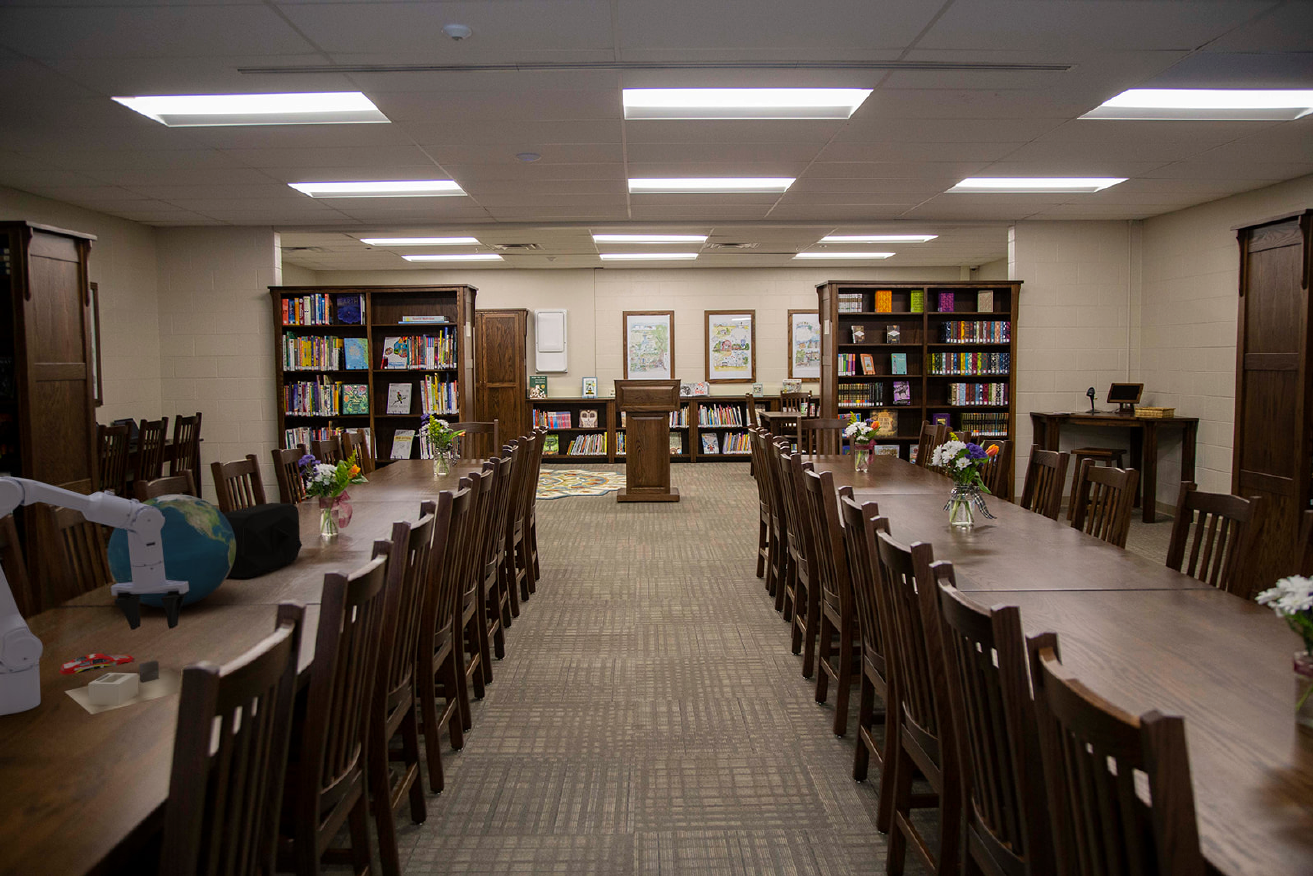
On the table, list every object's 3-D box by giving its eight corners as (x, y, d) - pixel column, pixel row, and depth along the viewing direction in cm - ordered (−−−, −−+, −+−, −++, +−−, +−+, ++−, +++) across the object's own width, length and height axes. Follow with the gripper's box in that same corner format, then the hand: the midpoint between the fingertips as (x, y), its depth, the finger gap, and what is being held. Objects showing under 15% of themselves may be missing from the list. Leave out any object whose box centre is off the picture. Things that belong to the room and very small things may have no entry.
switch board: (92, 722, 151) (91, 695, 151) (64, 699, 161) (63, 673, 161) (198, 695, 165) (198, 670, 164) (167, 675, 175) (166, 651, 175)
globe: (181, 626, 208) (179, 505, 206) (80, 616, 214) (76, 499, 212) (260, 596, 237) (259, 490, 235) (169, 588, 243) (167, 485, 241)
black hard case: (275, 559, 284) (274, 500, 282) (309, 561, 282) (308, 502, 280) (215, 580, 254) (214, 514, 252) (252, 582, 252) (251, 516, 251)
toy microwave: (119, 705, 155) (118, 683, 155) (89, 704, 155) (88, 682, 155) (138, 694, 161) (137, 672, 160) (108, 693, 161) (108, 671, 160)
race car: (131, 663, 183) (131, 645, 182) (138, 669, 179) (137, 651, 178) (57, 677, 173) (57, 658, 173) (62, 684, 169) (62, 665, 169)
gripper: (194, 556, 174) (200, 619, 176) (123, 558, 174) (130, 621, 176) (174, 566, 167) (181, 631, 169) (101, 568, 167) (109, 634, 169)
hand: (154, 627), depth 172 cm, fingers open, 7 cm apart
